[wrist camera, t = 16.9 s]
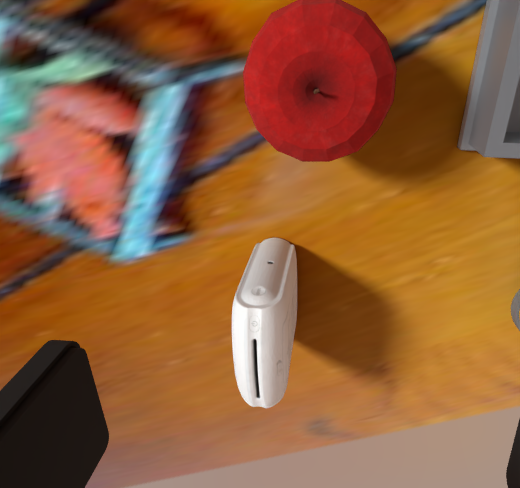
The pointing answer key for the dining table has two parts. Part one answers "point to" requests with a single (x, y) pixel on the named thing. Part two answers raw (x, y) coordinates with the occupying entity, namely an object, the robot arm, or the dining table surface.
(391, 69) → the apple
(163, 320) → the dining table surface
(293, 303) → the photo printer
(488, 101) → the grey square tray
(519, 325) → the alarm clock
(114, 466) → the dining table surface
